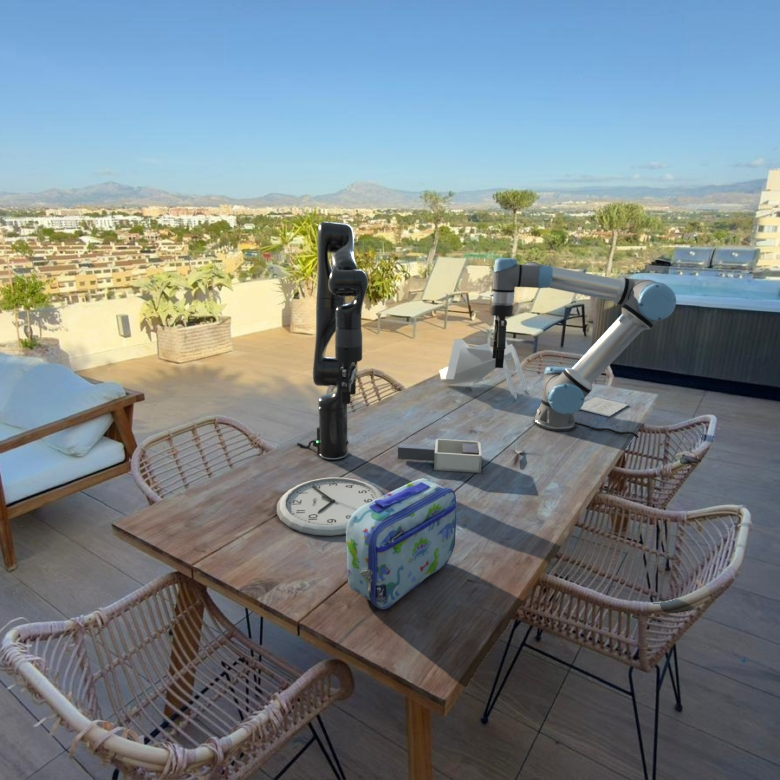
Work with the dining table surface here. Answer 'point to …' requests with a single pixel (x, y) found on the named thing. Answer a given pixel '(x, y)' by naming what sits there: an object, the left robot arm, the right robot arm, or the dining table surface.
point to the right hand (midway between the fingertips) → (497, 362)
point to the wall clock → (324, 504)
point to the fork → (518, 452)
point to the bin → (444, 455)
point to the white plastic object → (479, 365)
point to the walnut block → (470, 449)
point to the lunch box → (400, 540)
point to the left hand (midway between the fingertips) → (349, 398)
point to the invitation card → (602, 406)
